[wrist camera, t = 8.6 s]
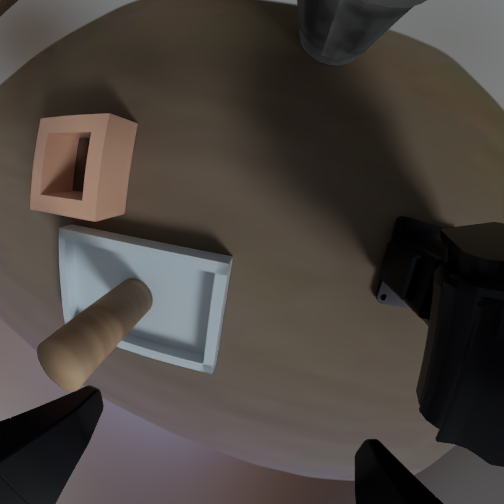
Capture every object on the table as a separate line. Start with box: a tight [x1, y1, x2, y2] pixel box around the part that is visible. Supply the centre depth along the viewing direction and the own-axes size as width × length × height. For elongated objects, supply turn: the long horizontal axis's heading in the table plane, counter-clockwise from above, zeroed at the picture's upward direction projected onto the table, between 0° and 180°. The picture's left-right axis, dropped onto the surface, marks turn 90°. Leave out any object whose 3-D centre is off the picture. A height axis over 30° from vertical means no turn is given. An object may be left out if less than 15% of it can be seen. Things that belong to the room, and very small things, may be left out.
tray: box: [59, 224, 233, 374], centre depth 20 cm, size 14×9×2 cm, turn 80°
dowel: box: [37, 278, 153, 392], centre depth 15 cm, size 3×3×10 cm
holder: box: [30, 113, 138, 222], centre depth 17 cm, size 7×7×4 cm
